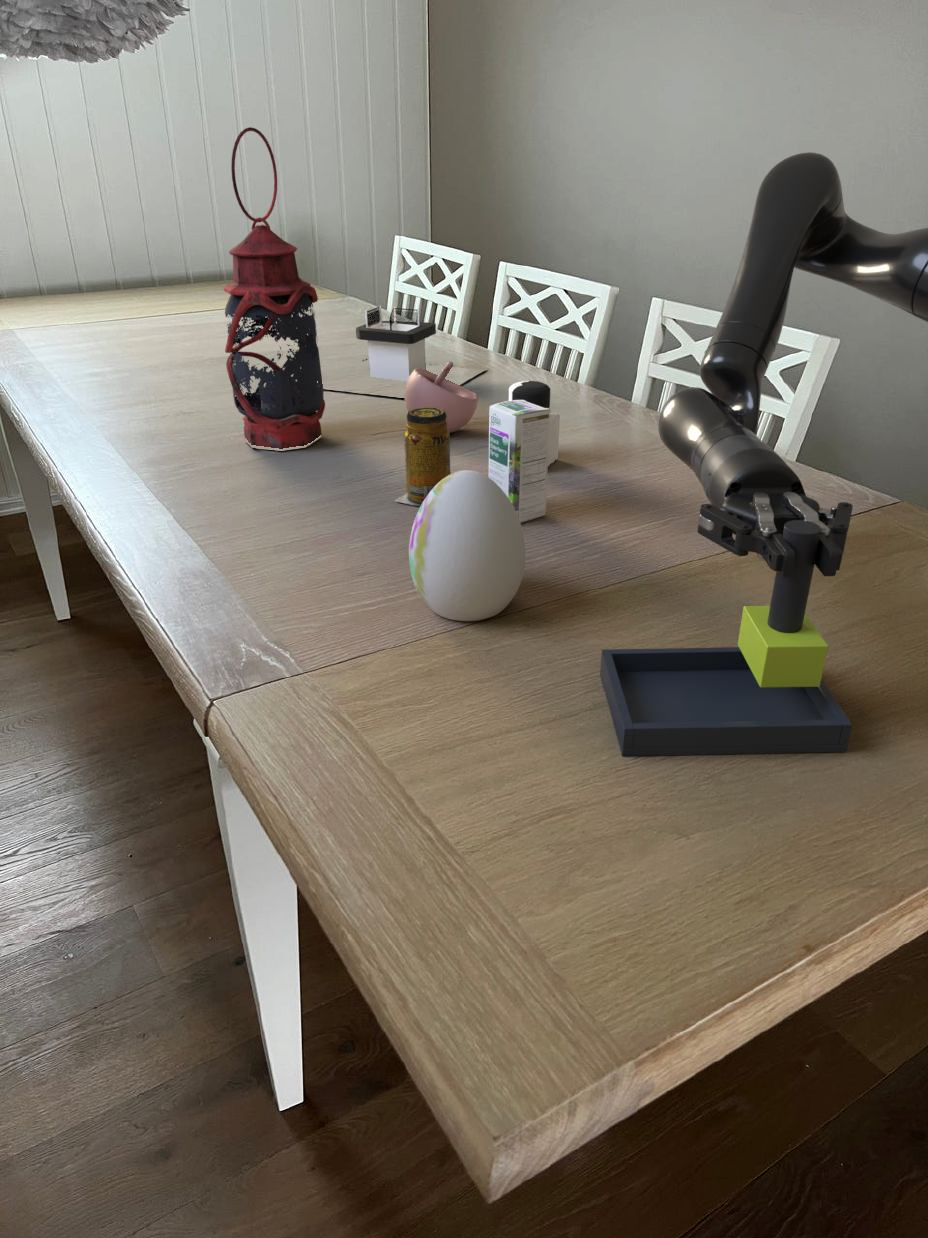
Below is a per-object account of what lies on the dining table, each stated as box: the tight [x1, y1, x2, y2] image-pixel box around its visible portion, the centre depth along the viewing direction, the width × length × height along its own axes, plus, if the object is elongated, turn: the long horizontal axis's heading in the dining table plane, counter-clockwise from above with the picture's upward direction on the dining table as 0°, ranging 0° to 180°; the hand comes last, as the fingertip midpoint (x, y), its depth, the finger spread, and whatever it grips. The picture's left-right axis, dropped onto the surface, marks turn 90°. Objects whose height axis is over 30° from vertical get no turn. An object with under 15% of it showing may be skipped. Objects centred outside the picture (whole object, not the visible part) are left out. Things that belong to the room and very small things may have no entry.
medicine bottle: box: [508, 380, 561, 467], centre depth 137 cm, size 7×7×12 cm
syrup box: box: [487, 400, 551, 524], centre depth 118 cm, size 6×6×14 cm
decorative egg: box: [408, 469, 526, 622], centre depth 96 cm, size 12×12×15 cm
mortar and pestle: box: [404, 361, 479, 434], centre depth 151 cm, size 12×12×12 cm
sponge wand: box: [737, 520, 829, 688], centre depth 77 cm, size 5×7×13 cm
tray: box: [599, 646, 853, 757], centre depth 81 cm, size 19×13×3 cm
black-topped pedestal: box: [355, 305, 437, 381], centre depth 181 cm, size 28×26×13 cm
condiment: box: [394, 407, 452, 507], centre depth 124 cm, size 7×8×12 cm
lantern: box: [222, 126, 326, 449], centre depth 140 cm, size 16×15×45 cm
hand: (811, 565), depth 72 cm, fingers closed on sponge wand, 3 cm apart
